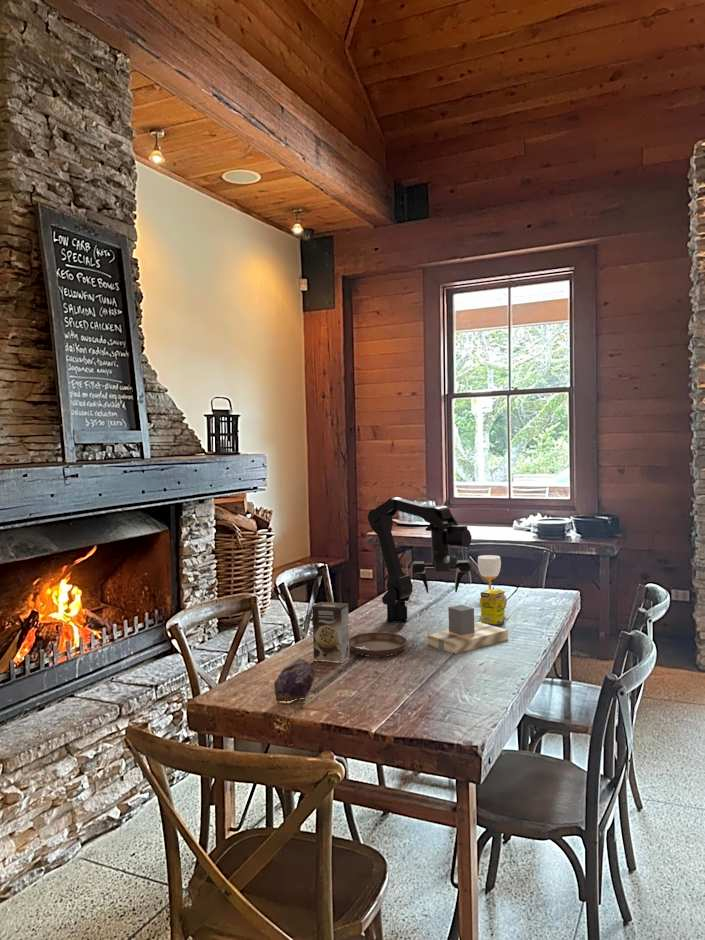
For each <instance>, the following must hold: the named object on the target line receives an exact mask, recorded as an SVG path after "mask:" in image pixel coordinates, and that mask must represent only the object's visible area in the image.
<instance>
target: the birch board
mask: <svg viewBox="0 0 705 940" xmlns="http://www.w3.org/2000/svg"><path fill="white" fill-rule="evenodd" d="M474 629H475V635H471V636H466V637H459V636H456V635H453V634H450V633H449V629H448V630H443V631H440V632H439V631H438V632H436V633H432V634H431V633H430V634H427V646H429V645H430V646H431V647H432V648H436V649H439V648H440V649H439V650H442V649H443V650H442V651H445V650H446V651H445V652H448V653H450V654H454V653H455V654H454V655H457V654H462V653H464V652H469V651H472V650H475V649H478V648H482V647H486V646H489V645H492V644H496V643H500V642H504V641H508V640H509V630H508V629H506V628H503V627H499V626H497V627H495V626H492V625H488V624H484V623H481V621H479V622H476V623H475V622H474ZM507 639H508V640H507Z"/></svg>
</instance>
